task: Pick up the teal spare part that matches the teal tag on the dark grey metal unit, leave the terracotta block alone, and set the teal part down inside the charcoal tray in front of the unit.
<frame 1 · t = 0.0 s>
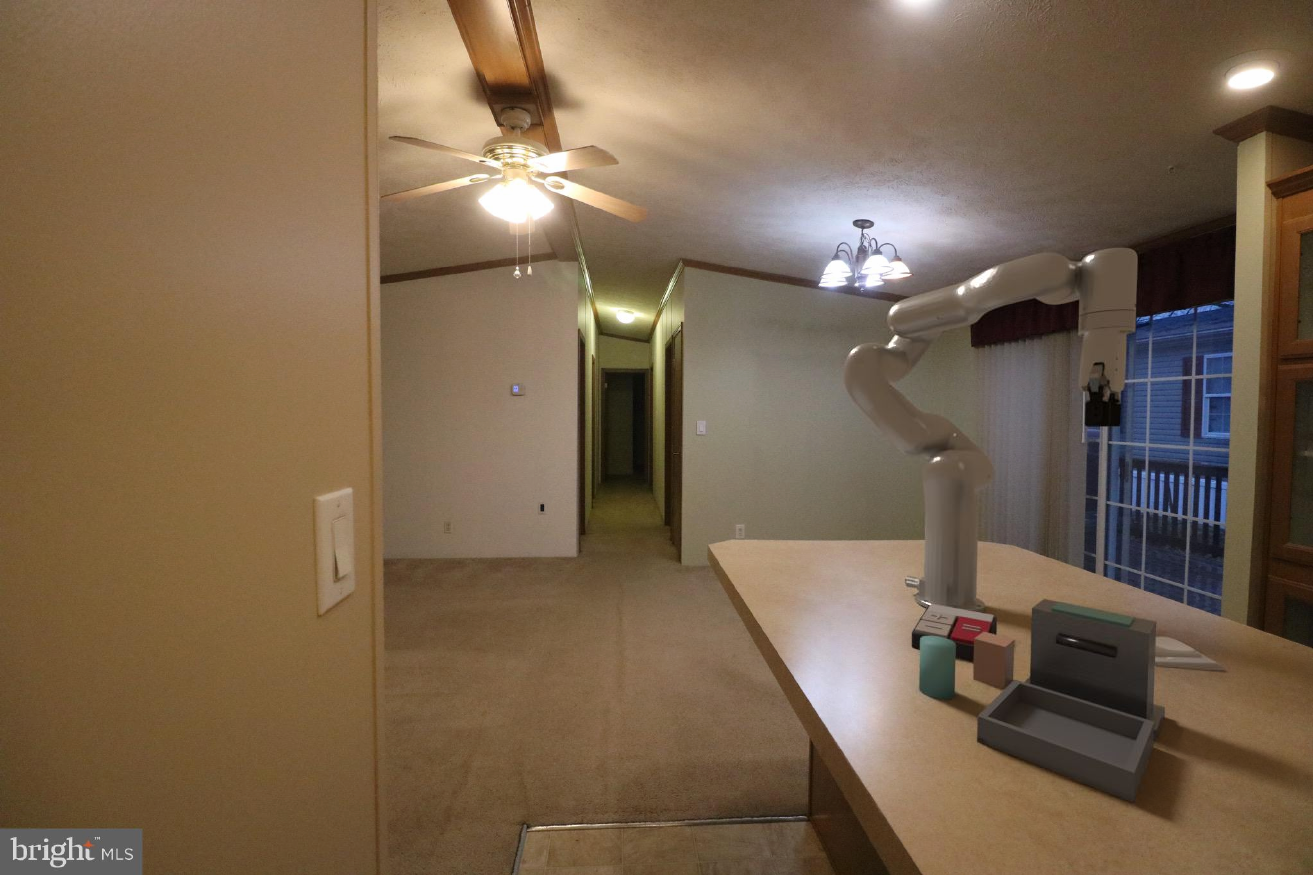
hand: (1103, 426, 95), 37 cm above the table, tool pointing down, fingers open, 9 cm apart
calculator: (955, 644, 95), on the table
parts tray: (1064, 744, 65), on the table
terracotta block: (993, 679, 81), on the table
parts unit: (1089, 706, 73), on the table
teal spare part: (936, 691, 77), on the table
light switch: (1151, 657, 91), on the table
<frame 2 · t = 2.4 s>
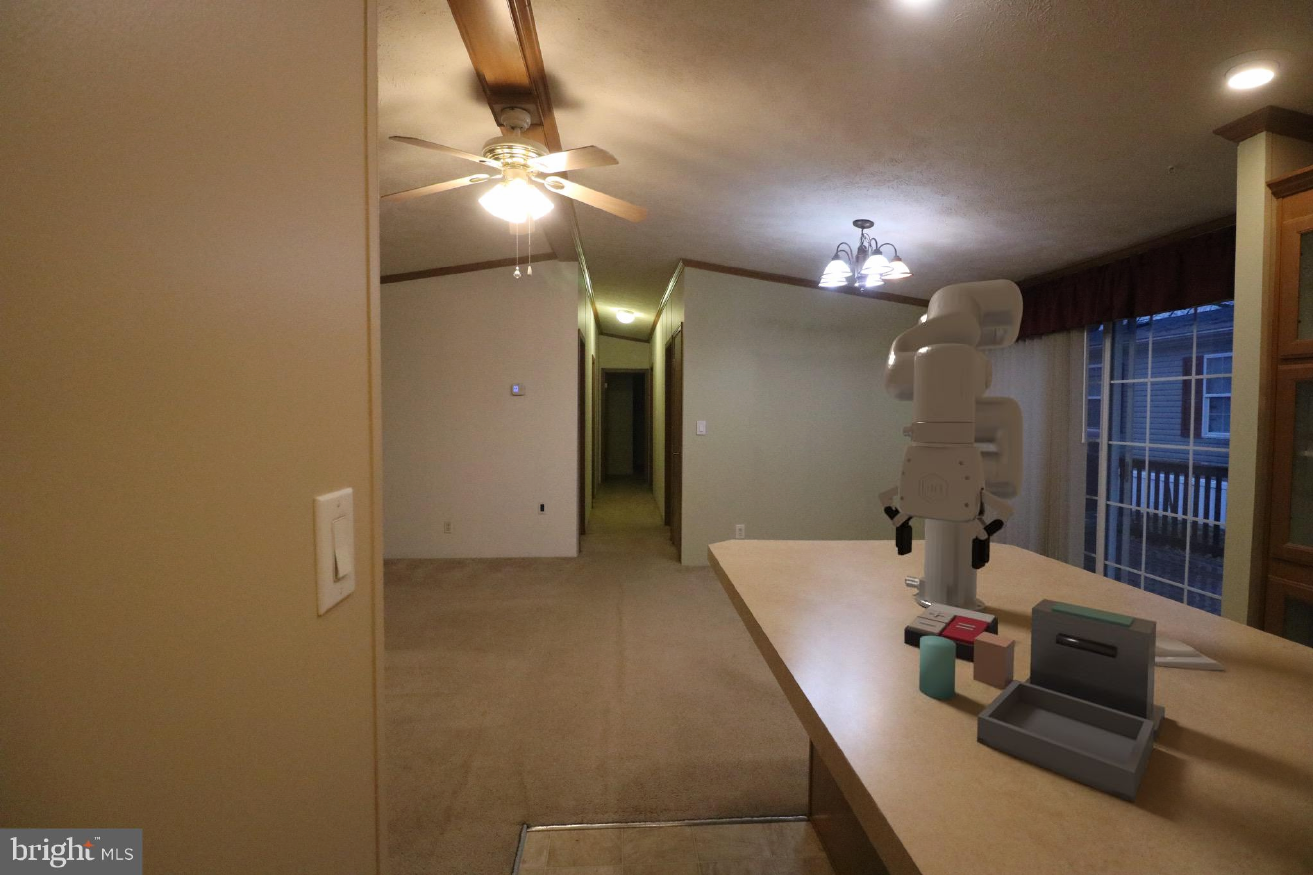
hand: (939, 560, 76), 18 cm above the table, tool pointing down, fingers open, 9 cm apart
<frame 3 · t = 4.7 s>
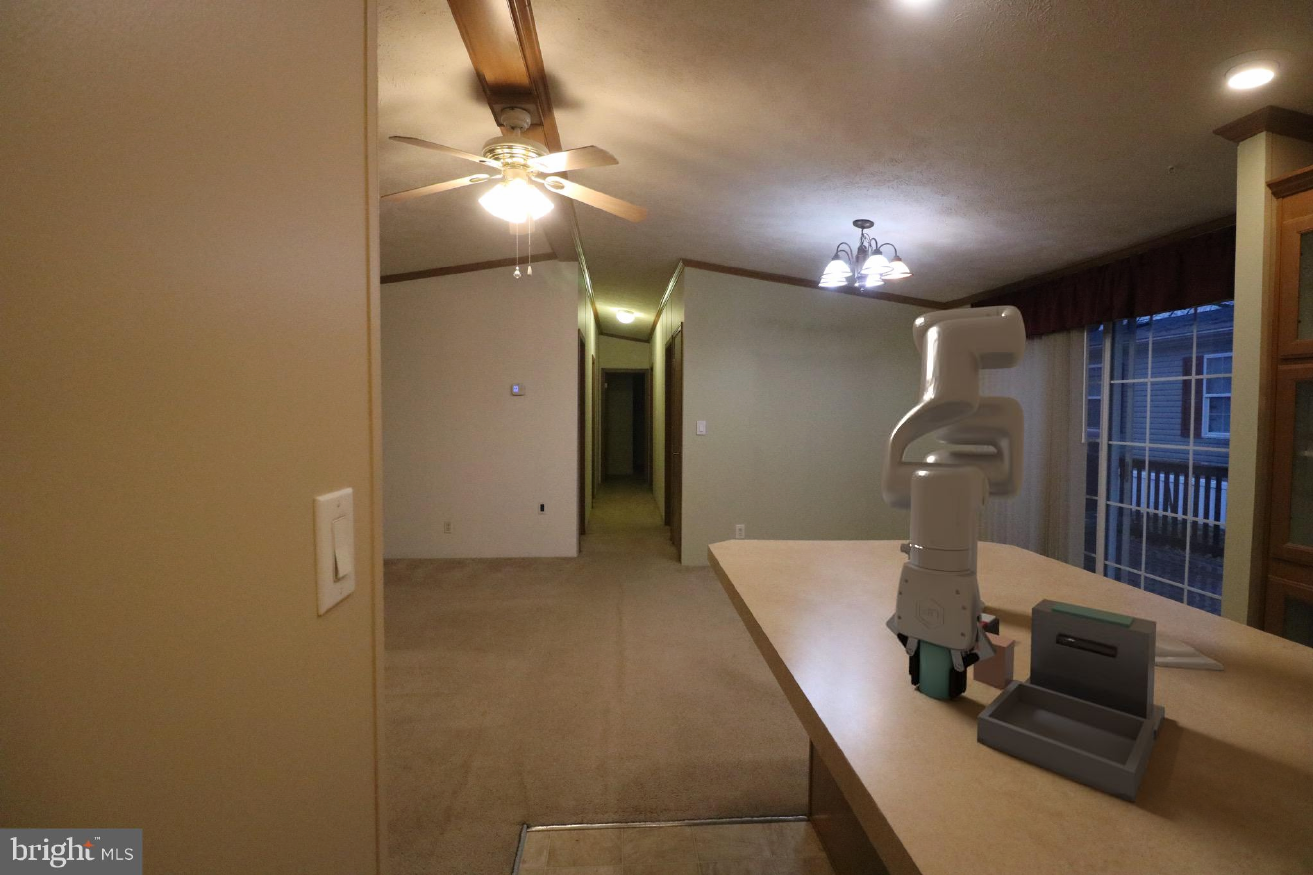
hand: (936, 687, 77), 1 cm above the table, tool pointing down, fingers closed on teal spare part, 4 cm apart
teal spare part: (936, 691, 77), on the table, touching gripper
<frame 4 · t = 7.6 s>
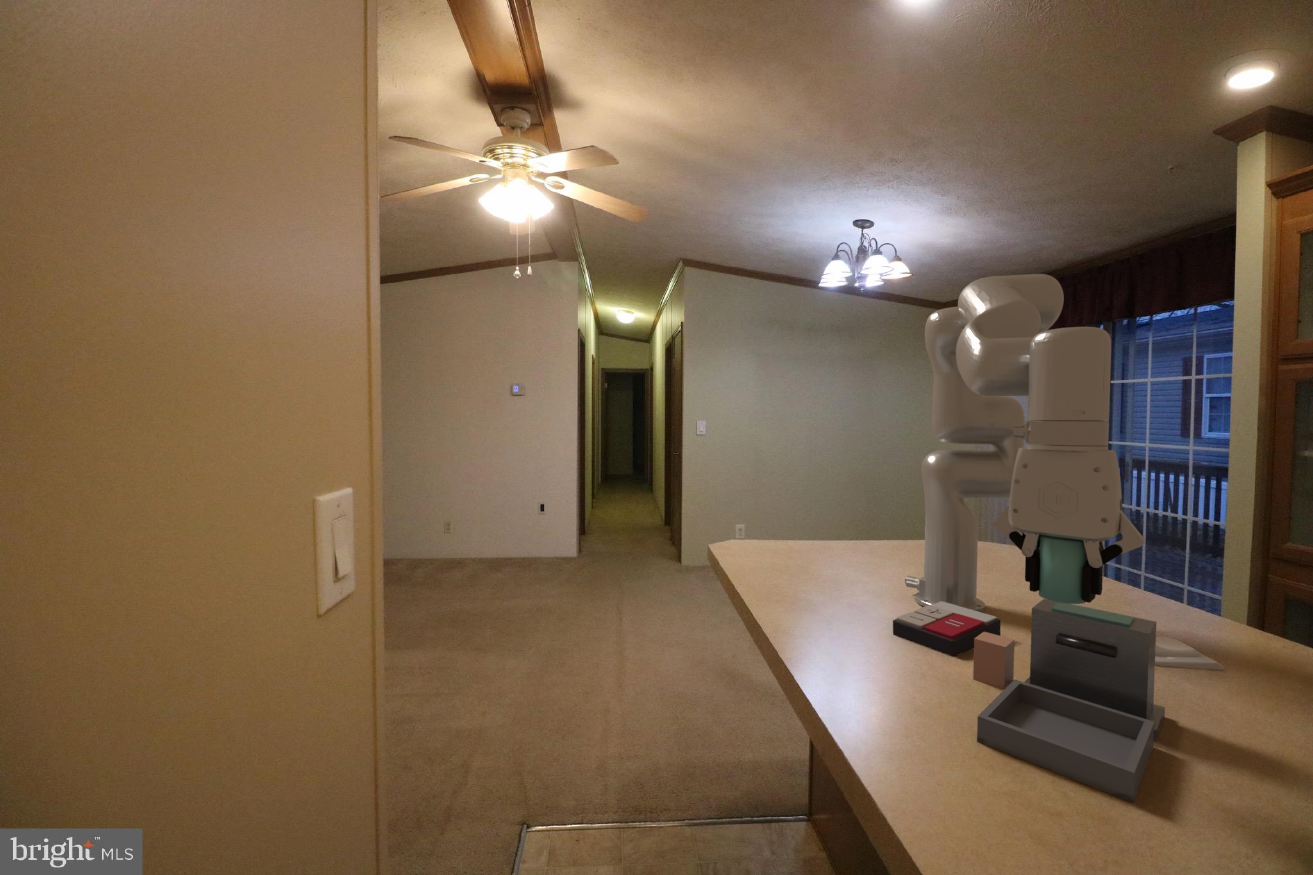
hand: (1062, 592, 65), 18 cm above the table, tool pointing down, fingers closed on teal spare part, 4 cm apart
teal spare part: (1061, 597, 65), point 17 cm above the table, touching gripper
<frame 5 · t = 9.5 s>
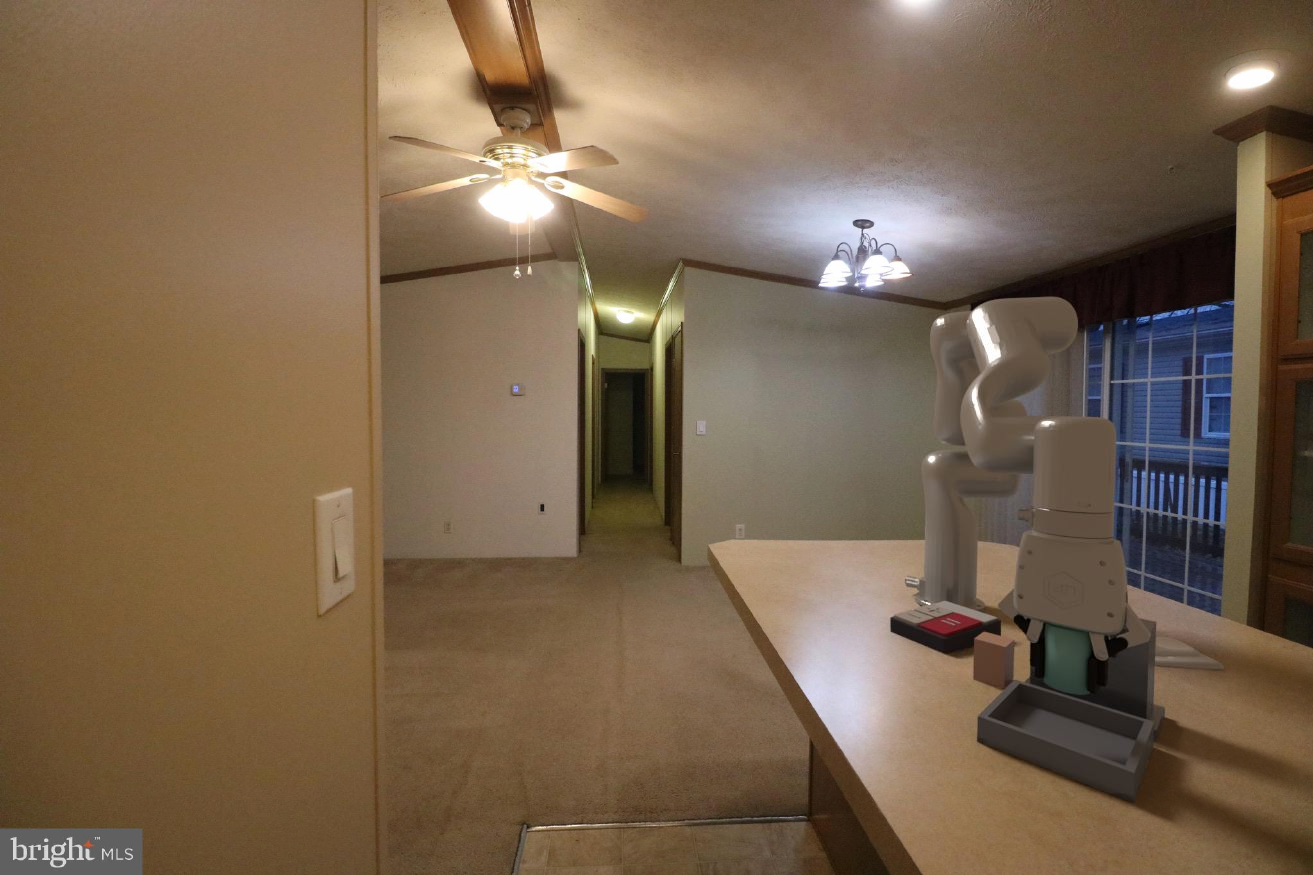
hand: (1067, 680, 64), 8 cm above the table, tool pointing down, fingers closed on teal spare part, 4 cm apart
teal spare part: (1067, 685, 64), point 7 cm above the table, touching gripper
when the fingers open (3 cm above the table, at t = 10.8 s): teal spare part drops 2 cm, resting on parts tray.
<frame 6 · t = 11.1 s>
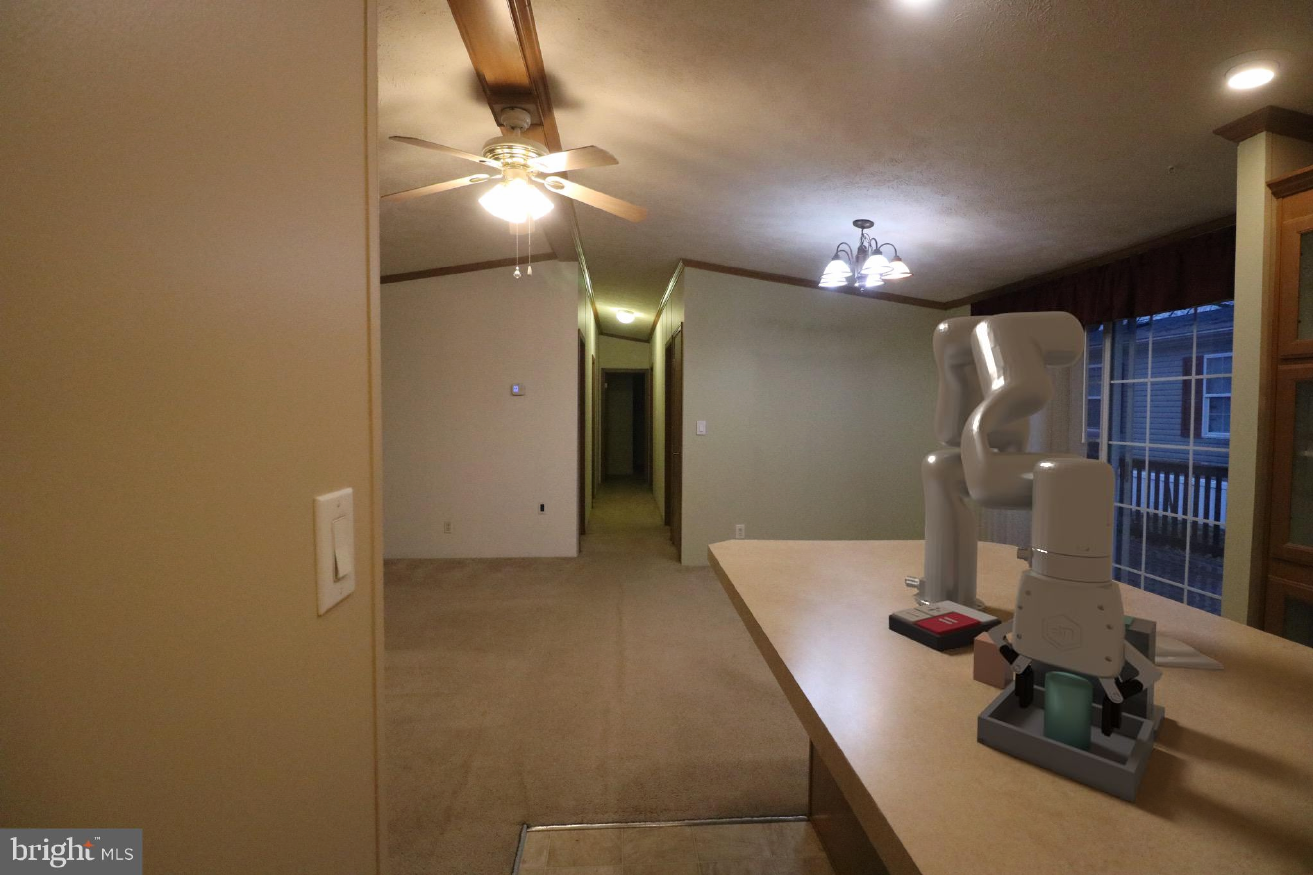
hand: (1065, 716, 65), 3 cm above the table, tool pointing down, fingers open, 7 cm apart
teal spare part: (1066, 739, 64), point 1 cm above the table, touching parts tray
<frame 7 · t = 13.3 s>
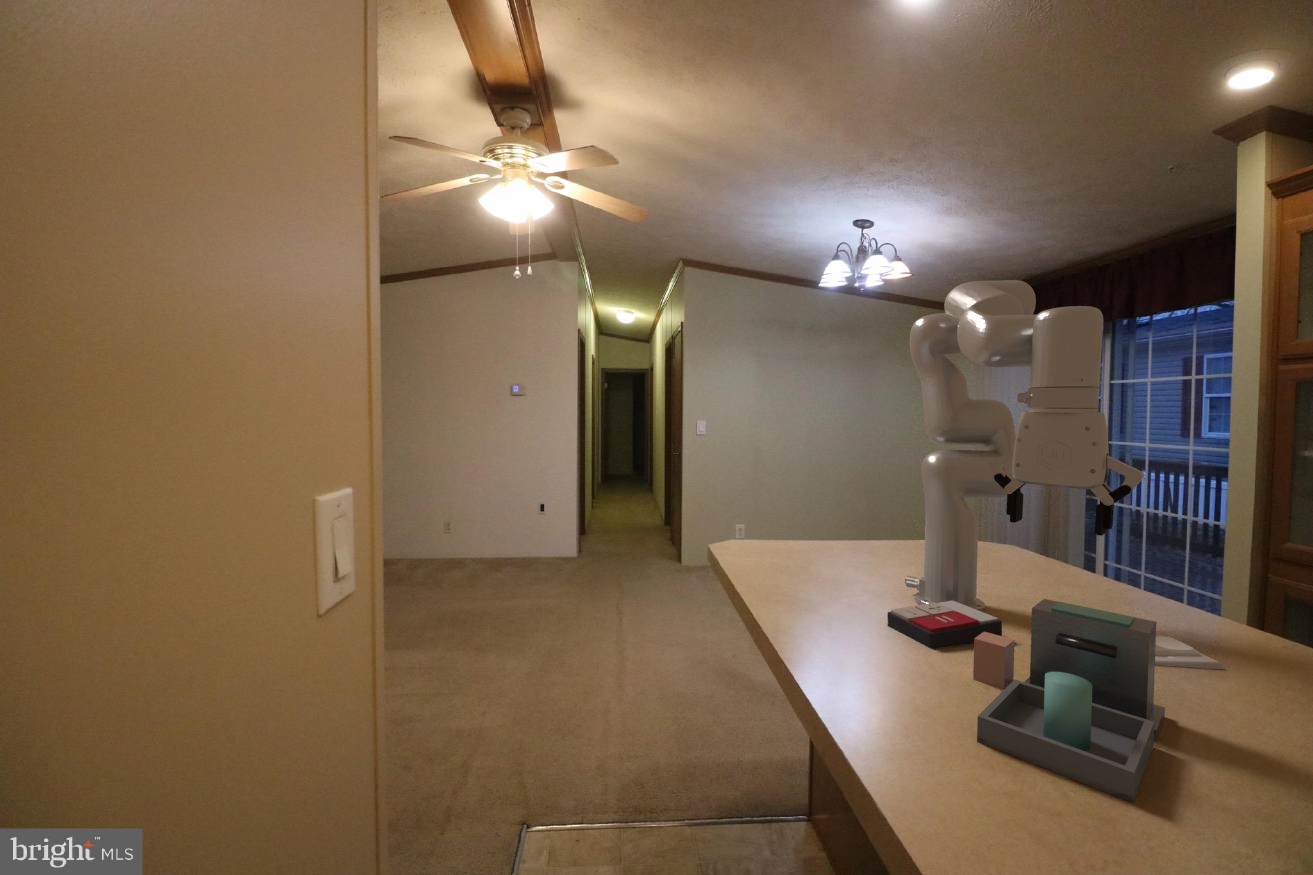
hand: (1056, 527, 76), 23 cm above the table, tool pointing down, fingers open, 9 cm apart
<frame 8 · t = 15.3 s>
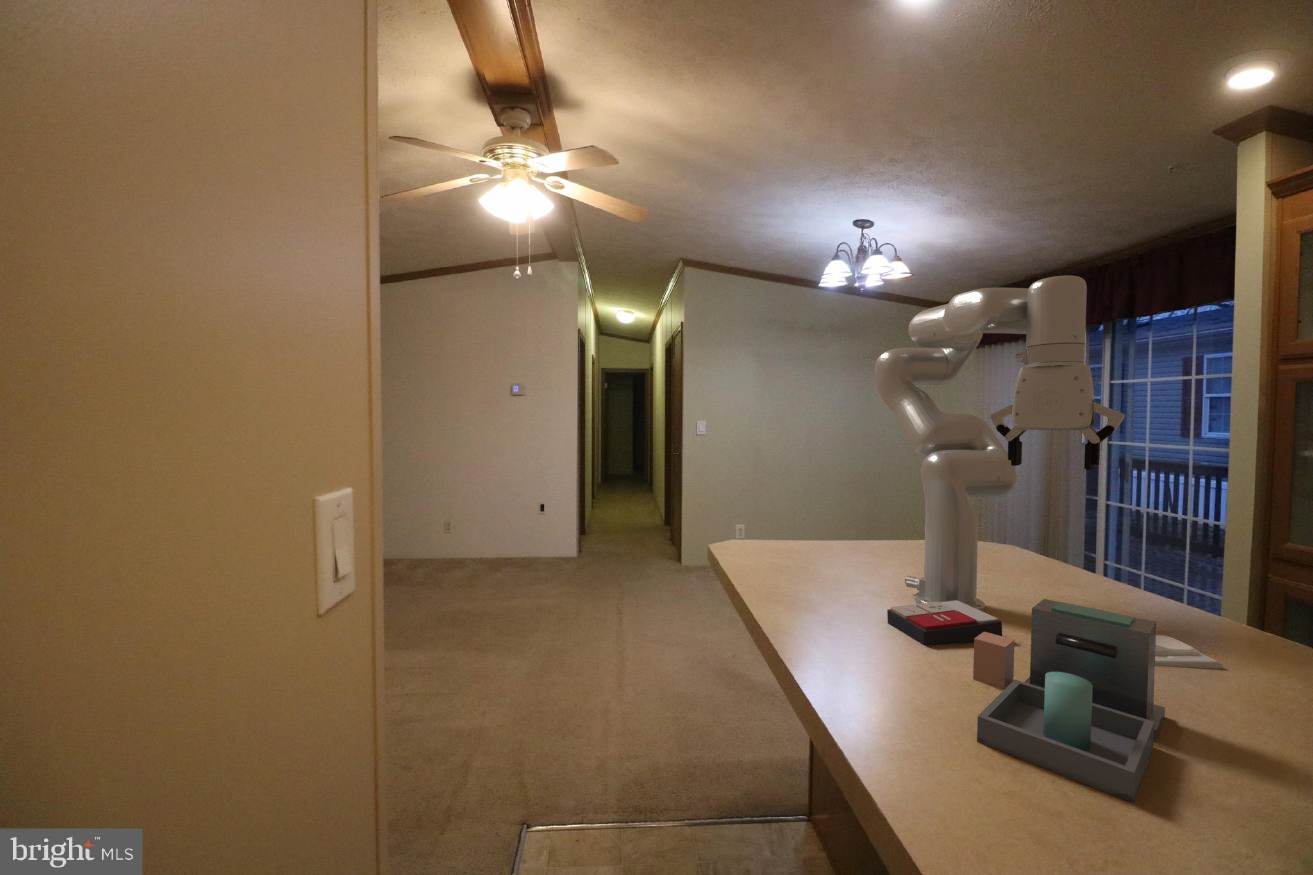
hand: (1051, 467, 88), 30 cm above the table, tool pointing down, fingers open, 9 cm apart
at the end: teal spare part inside the target area on the parts tray (0.2 cm from its centre), point 0.6 cm above the parts tray's base; teal spare part tilted 0°; terracotta block moved 0.1 cm from its start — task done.
